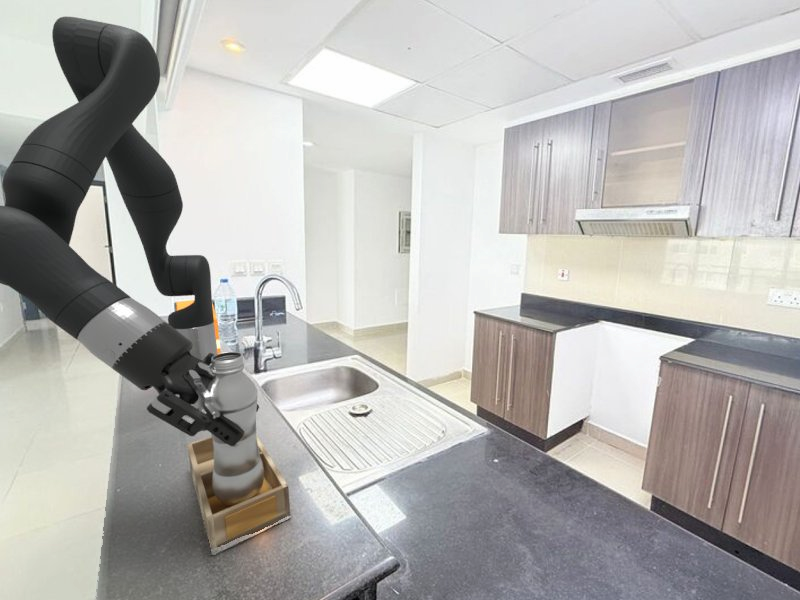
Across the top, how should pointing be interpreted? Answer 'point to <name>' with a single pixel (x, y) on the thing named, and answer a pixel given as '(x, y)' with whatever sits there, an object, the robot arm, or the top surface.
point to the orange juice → (186, 303)
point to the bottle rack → (245, 516)
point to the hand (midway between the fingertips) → (247, 425)
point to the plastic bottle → (237, 401)
